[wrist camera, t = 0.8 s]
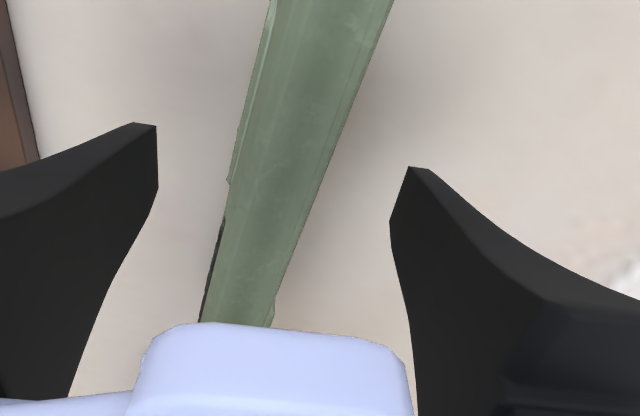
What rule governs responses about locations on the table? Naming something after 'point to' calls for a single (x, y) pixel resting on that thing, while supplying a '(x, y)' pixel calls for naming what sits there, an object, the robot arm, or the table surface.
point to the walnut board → (13, 105)
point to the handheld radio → (286, 146)
